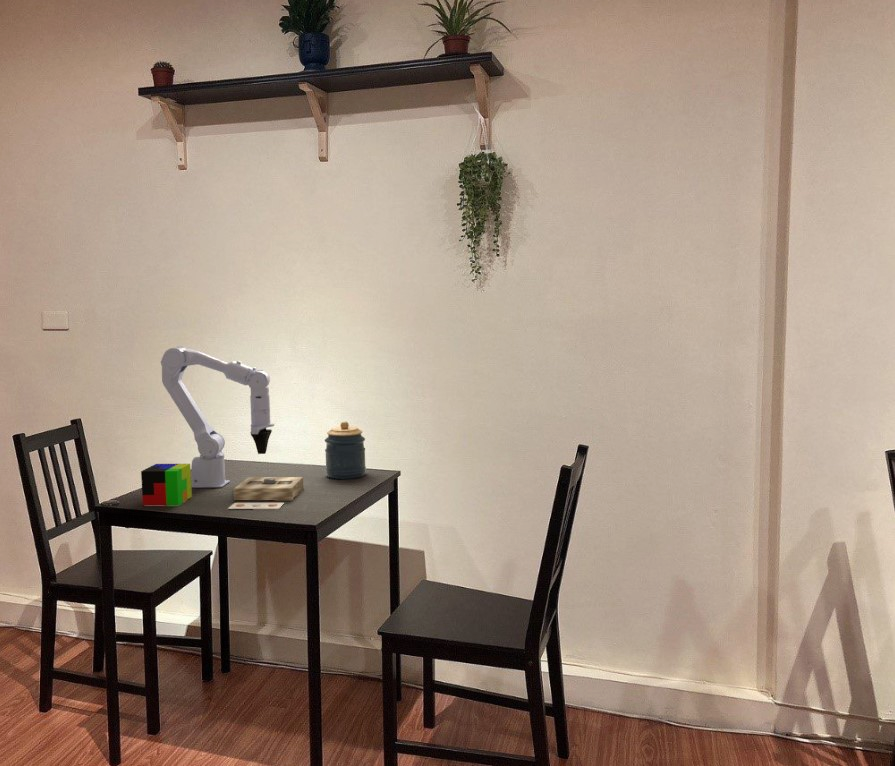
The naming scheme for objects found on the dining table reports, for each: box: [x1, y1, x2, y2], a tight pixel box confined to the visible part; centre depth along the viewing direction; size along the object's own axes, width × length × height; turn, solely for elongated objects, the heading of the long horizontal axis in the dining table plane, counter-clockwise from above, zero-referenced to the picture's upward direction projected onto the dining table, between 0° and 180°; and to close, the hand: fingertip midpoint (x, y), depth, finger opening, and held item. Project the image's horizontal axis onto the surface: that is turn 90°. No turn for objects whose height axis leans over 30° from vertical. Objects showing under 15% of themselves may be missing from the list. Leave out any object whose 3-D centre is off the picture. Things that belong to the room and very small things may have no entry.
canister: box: [324, 420, 367, 480], centre depth 245 cm, size 13×13×18 cm
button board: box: [233, 476, 304, 501], centre depth 221 cm, size 16×14×4 cm
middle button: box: [264, 478, 275, 484], centre depth 221 cm, size 3×3×2 cm
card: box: [227, 502, 285, 510], centre depth 208 cm, size 14×6×1 cm, turn 88°
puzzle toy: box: [140, 463, 193, 506], centre depth 214 cm, size 10×10×10 cm
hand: (262, 453), depth 235 cm, fingers closed
